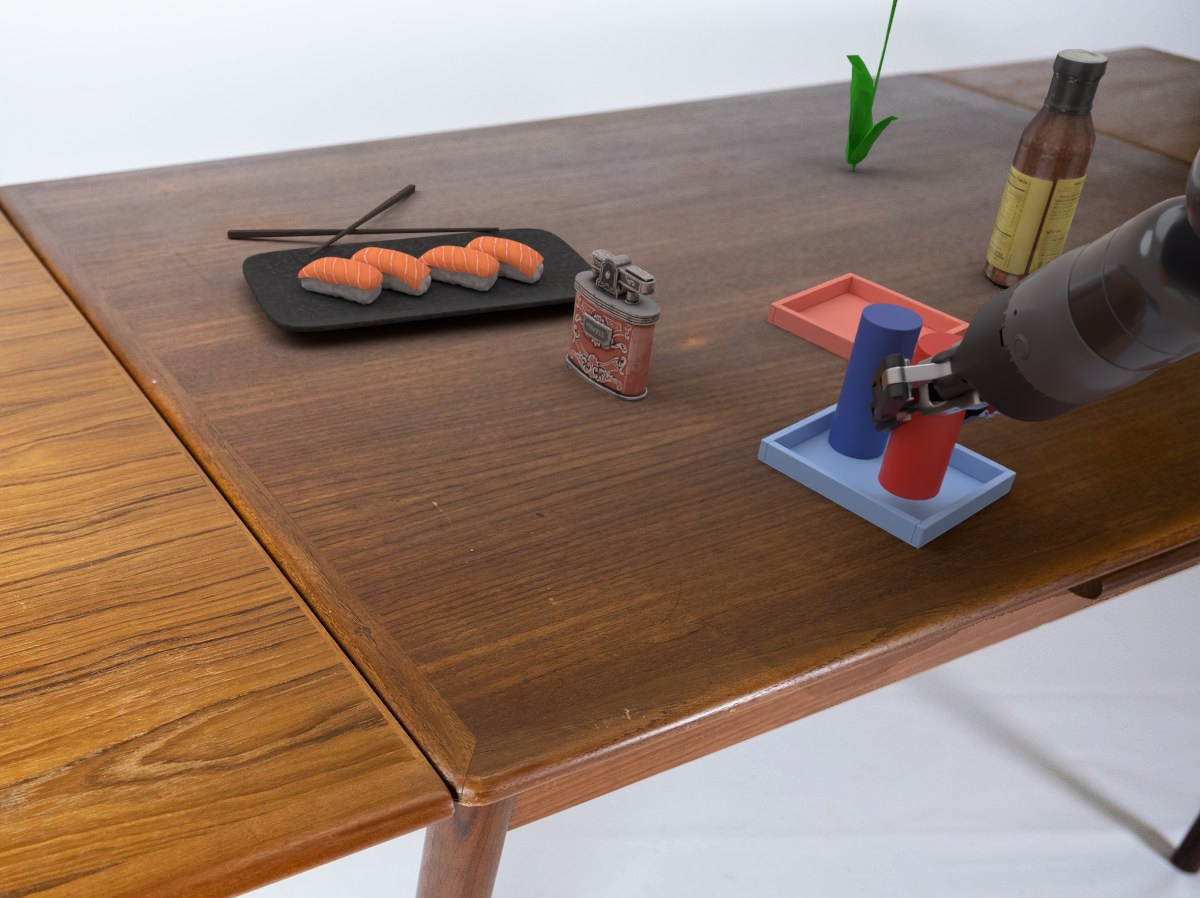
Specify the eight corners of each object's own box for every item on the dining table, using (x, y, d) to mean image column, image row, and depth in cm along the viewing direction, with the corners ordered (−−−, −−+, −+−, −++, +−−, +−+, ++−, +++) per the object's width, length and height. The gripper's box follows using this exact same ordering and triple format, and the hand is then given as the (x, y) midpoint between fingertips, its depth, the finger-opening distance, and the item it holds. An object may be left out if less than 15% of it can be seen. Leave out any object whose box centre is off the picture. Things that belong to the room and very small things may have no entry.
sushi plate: (276, 354, 98) (275, 308, 95) (196, 206, 119) (193, 166, 117) (616, 313, 107) (622, 270, 105) (485, 183, 129) (487, 145, 126)
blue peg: (895, 448, 91) (935, 319, 85) (862, 465, 89) (901, 335, 83) (849, 424, 94) (885, 297, 87) (816, 441, 91) (850, 312, 85)
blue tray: (1007, 498, 88) (1016, 472, 87) (915, 555, 82) (924, 528, 81) (849, 418, 96) (856, 393, 94) (755, 465, 89) (761, 439, 88)
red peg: (951, 487, 84) (998, 350, 78) (917, 508, 82) (962, 368, 76) (900, 461, 86) (941, 326, 80) (865, 480, 84) (905, 343, 78)
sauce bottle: (1045, 271, 120) (1124, 50, 108) (1053, 298, 115) (1137, 70, 103) (974, 261, 121) (1044, 40, 109) (979, 287, 116) (1053, 59, 104)
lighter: (554, 366, 99) (568, 243, 93) (588, 356, 101) (604, 234, 94) (621, 412, 94) (640, 285, 88) (656, 401, 96) (677, 276, 89)
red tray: (965, 347, 106) (972, 324, 105) (887, 385, 100) (894, 361, 99) (844, 294, 113) (850, 272, 112) (765, 326, 107) (770, 303, 106)
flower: (905, 173, 139) (990, -141, 121) (870, 190, 134) (953, -134, 116) (835, 151, 143) (907, -156, 125) (798, 167, 138) (868, -150, 120)
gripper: (1185, 259, 68) (1002, 356, 85) (940, 265, 66) (801, 363, 82) (1205, 396, 67) (1017, 466, 84) (958, 407, 65) (815, 477, 82)
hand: (911, 415), depth 83 cm, fingers closed on red peg, 4 cm apart
